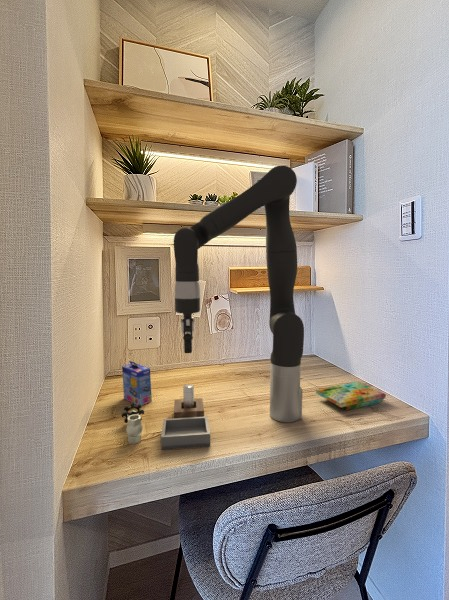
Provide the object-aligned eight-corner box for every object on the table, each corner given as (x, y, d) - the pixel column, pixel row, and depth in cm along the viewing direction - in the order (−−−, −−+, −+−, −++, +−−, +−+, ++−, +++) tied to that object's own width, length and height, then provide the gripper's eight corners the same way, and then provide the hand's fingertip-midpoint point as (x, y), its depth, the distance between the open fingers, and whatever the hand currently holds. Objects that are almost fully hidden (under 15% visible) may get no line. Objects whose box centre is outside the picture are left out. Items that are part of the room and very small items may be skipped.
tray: (207, 427, 90) (207, 416, 90) (210, 446, 80) (210, 433, 80) (163, 430, 88) (163, 419, 88) (161, 450, 79) (161, 437, 78)
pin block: (202, 409, 101) (202, 398, 101) (204, 423, 92) (204, 410, 92) (174, 411, 100) (174, 399, 100) (173, 425, 91) (173, 412, 91)
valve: (147, 442, 83) (144, 421, 94) (147, 418, 82) (143, 400, 93) (122, 446, 81) (121, 424, 92) (121, 422, 80) (120, 403, 91)
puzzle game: (385, 391, 105) (340, 400, 98) (385, 404, 106) (339, 414, 98) (359, 379, 116) (316, 387, 109) (358, 391, 117) (315, 400, 109)
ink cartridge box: (122, 399, 110) (120, 359, 108) (135, 394, 114) (134, 356, 113) (138, 406, 104) (137, 365, 102) (152, 401, 108) (151, 361, 106)
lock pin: (193, 414, 98) (193, 384, 97) (194, 419, 95) (193, 388, 94) (183, 415, 98) (183, 384, 97) (183, 420, 95) (183, 388, 94)
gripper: (201, 298, 86) (201, 355, 88) (198, 294, 100) (199, 343, 102) (174, 298, 85) (174, 356, 87) (175, 294, 99) (176, 343, 101)
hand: (187, 349), depth 94 cm, fingers open, 8 cm apart
